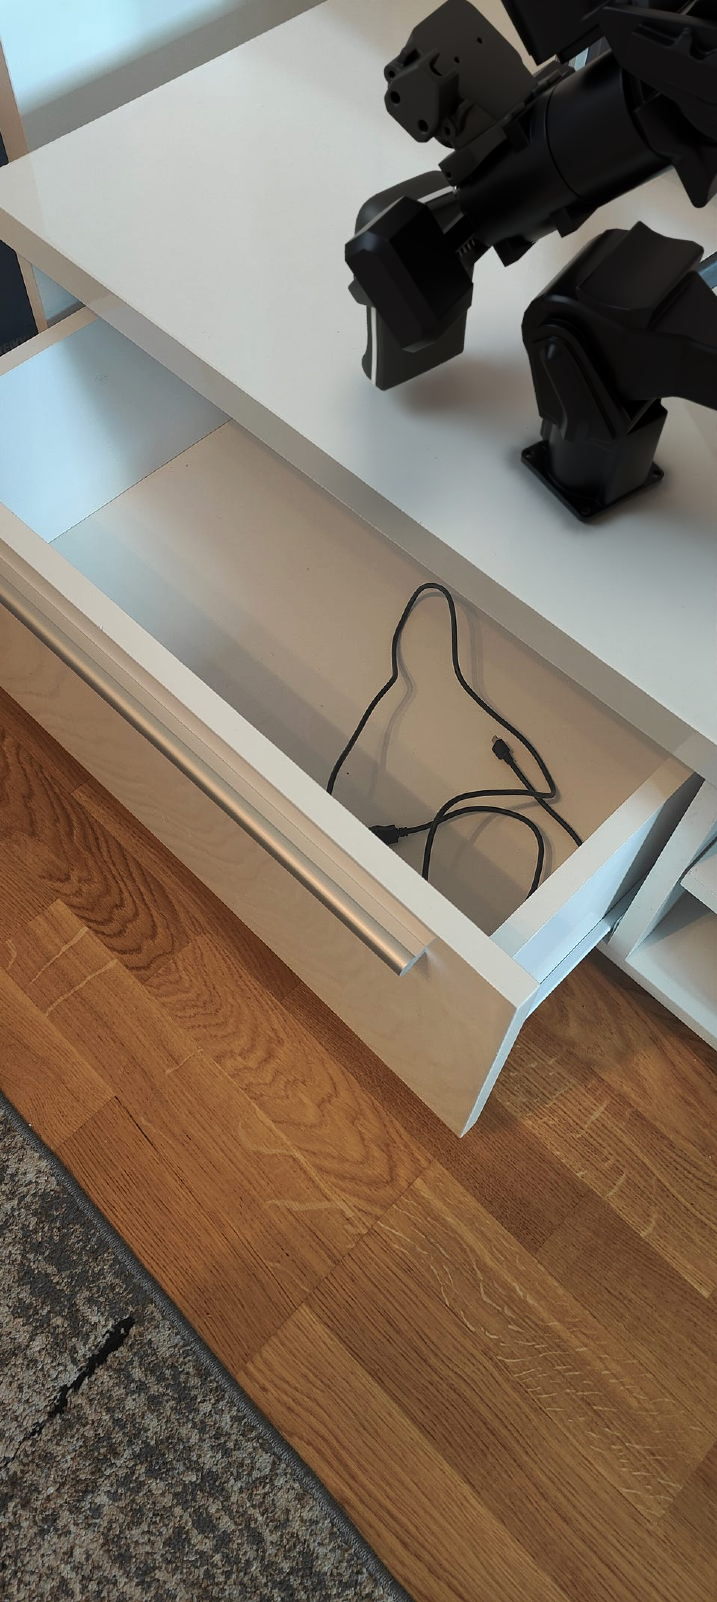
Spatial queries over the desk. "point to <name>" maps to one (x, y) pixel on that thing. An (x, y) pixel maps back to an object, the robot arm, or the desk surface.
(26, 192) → the desk surface
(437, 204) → the battery charger
